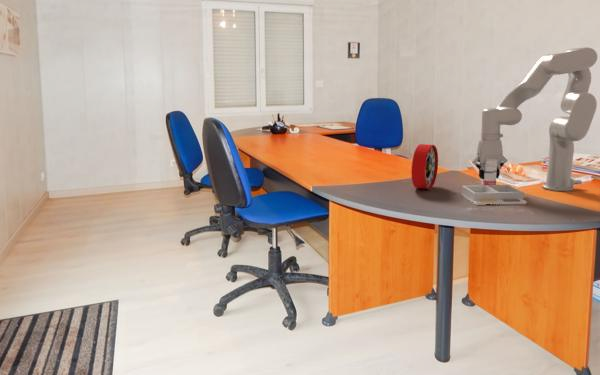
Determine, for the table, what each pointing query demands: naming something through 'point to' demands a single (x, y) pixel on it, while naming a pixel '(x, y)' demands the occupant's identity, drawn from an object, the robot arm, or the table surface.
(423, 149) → the toy clock
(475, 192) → the divided tray
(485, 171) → the ink box
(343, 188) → the table surface
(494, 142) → the robot arm
